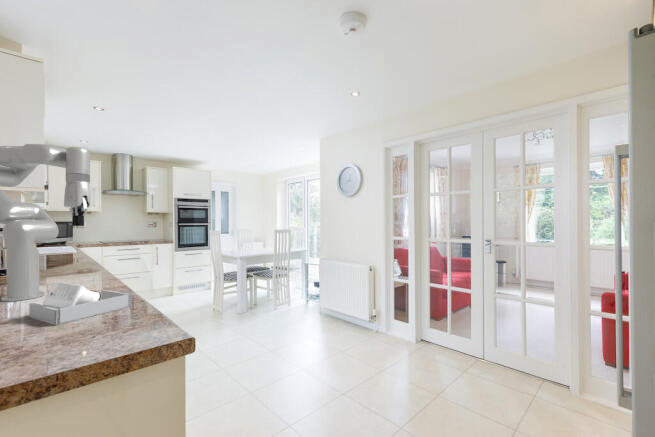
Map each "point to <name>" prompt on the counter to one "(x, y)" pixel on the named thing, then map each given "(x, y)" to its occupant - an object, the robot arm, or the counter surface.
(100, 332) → the counter surface
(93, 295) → the container
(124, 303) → the tray
